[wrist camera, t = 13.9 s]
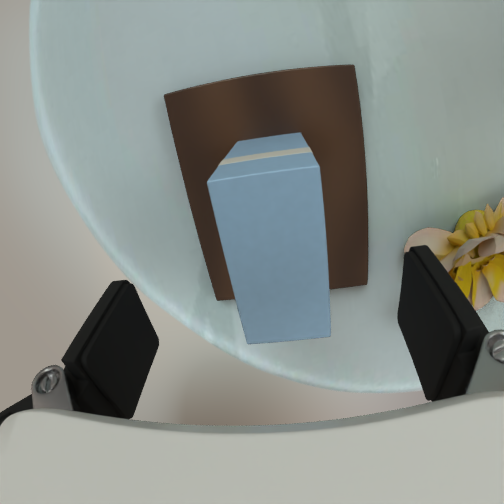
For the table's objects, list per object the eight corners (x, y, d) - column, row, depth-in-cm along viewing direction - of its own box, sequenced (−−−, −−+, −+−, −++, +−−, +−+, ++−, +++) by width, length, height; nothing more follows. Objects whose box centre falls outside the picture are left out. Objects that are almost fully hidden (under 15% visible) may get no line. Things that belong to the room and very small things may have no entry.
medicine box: (258, 253, 22) (246, 345, 15) (236, 141, 19) (205, 181, 11) (314, 246, 22) (331, 337, 14) (301, 131, 18) (320, 164, 10)
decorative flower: (398, 345, 25) (437, 419, 15) (366, 227, 23) (416, 267, 13) (521, 282, 22) (582, 323, 12) (505, 171, 20) (583, 181, 10)
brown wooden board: (218, 293, 26) (216, 301, 25) (168, 94, 18) (163, 94, 17) (364, 277, 24) (367, 284, 23) (350, 65, 16) (354, 64, 16)
